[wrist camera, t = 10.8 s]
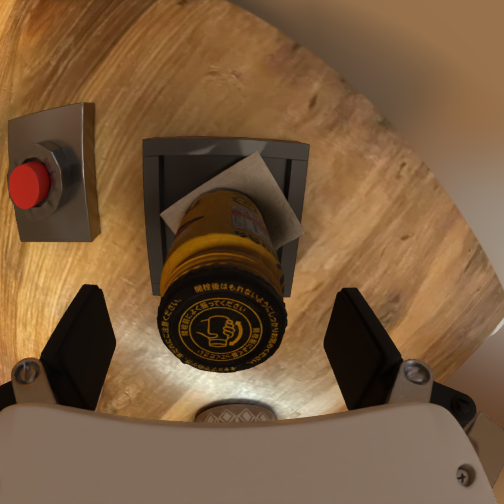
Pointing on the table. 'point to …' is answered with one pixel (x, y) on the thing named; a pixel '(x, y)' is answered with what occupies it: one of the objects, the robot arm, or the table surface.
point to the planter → (236, 414)
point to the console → (58, 173)
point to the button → (29, 184)
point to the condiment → (227, 270)
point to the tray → (204, 169)
